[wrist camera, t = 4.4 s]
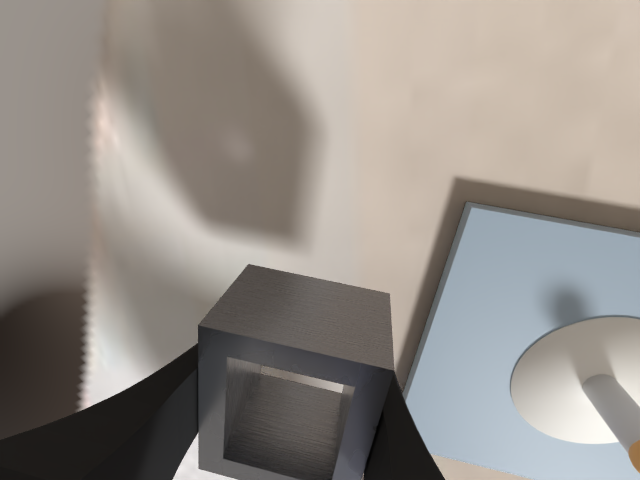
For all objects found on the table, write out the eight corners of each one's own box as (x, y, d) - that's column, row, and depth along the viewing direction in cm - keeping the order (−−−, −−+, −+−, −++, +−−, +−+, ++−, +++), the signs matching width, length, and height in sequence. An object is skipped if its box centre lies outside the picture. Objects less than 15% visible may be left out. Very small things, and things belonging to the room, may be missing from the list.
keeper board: (681, 501, 20) (789, 643, 15) (390, 429, 22) (394, 534, 17) (896, 278, 14) (1216, 385, 9) (466, 201, 16) (511, 251, 10)
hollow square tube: (358, 412, 15) (351, 510, 11) (240, 383, 16) (198, 468, 12) (389, 293, 13) (394, 370, 9) (248, 264, 13) (197, 325, 9)
